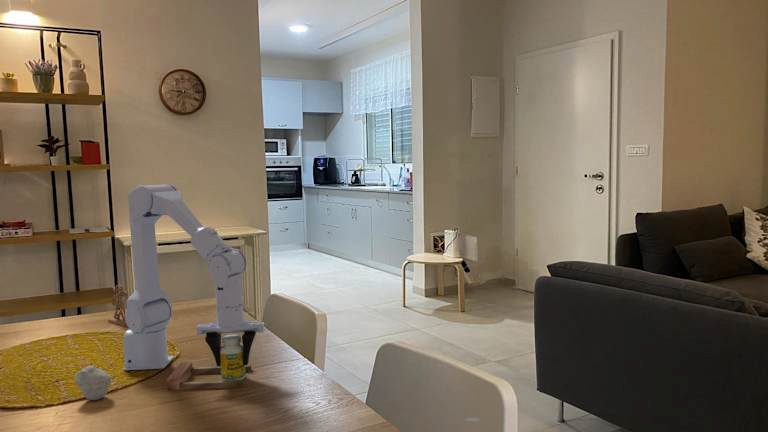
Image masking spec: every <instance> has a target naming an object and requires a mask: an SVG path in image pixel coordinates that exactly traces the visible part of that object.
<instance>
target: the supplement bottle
mask: <svg viewBox="0 0 768 432" xmlns="http://www.w3.org/2000/svg"><path fill="white" fill-rule="evenodd" d="M241 342H242V335H240V334H237V333H232V334H226V335H224V336H223V337H221V344H222V345H221V348H220V363H221V365H220V366H221V373H220V377H221V381H222V380H245V378H246V375H247V374H246V373H247V372H246V371H245V365H244V362H243V358H244V351H243V343H241Z"/></svg>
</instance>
